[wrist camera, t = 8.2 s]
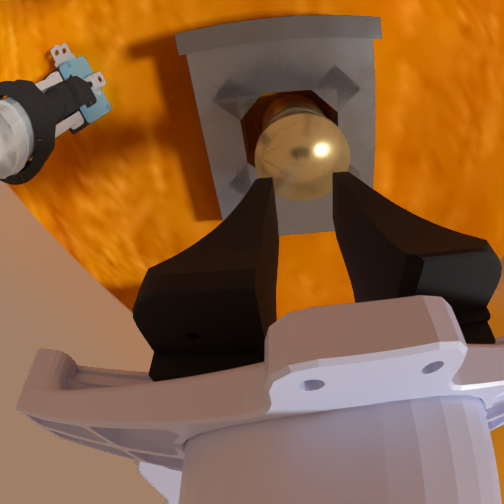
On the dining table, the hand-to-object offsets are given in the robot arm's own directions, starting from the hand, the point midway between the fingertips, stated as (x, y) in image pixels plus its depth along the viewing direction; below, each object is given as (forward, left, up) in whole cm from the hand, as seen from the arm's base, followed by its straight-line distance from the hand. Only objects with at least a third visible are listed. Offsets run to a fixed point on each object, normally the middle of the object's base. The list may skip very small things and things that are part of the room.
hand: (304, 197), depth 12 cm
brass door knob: (0, 0, -9) cm, 9 cm away
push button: (+6, +13, -10) cm, 17 cm away
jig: (0, 0, -9) cm, 9 cm away
